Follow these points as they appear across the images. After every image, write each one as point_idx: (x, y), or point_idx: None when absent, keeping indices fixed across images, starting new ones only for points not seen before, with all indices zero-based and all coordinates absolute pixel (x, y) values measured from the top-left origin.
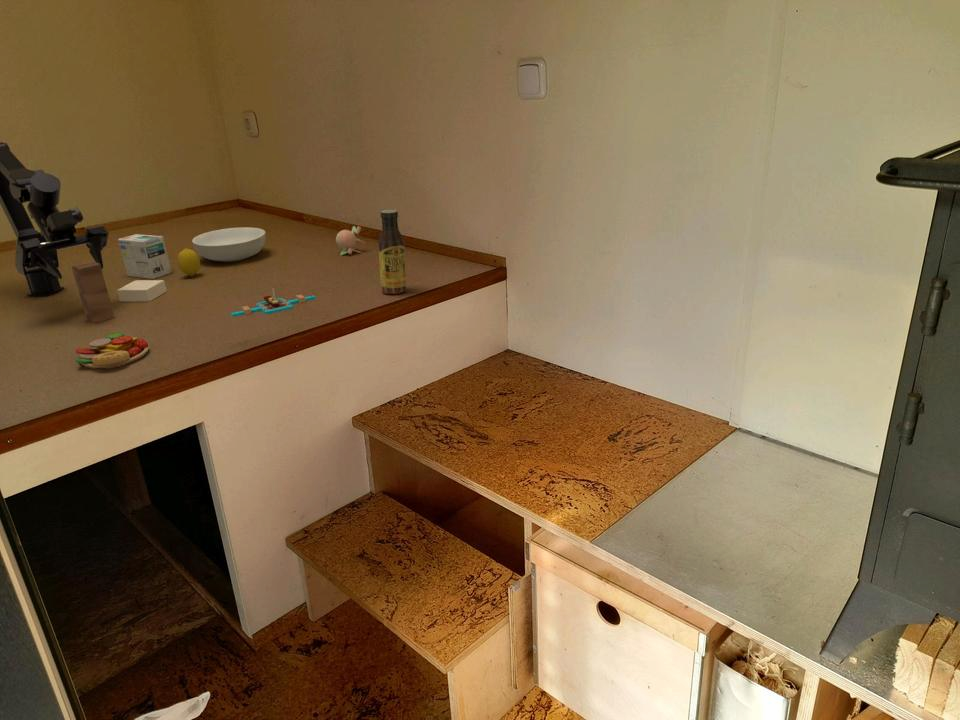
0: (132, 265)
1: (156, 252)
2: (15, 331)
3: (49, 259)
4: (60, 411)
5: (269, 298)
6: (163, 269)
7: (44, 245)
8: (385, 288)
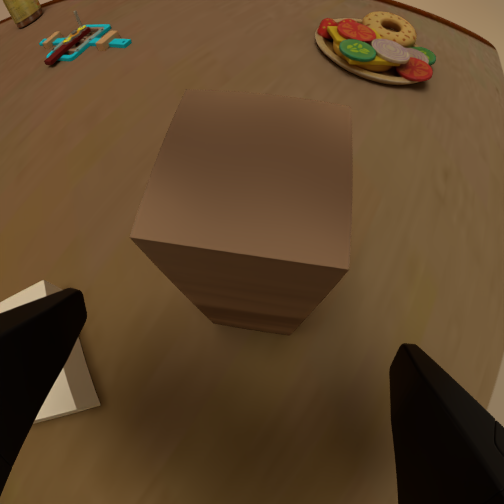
0: None
1: None
2: None
3: (500, 460)
4: (458, 29)
5: (67, 41)
6: None
7: None
8: (37, 11)
